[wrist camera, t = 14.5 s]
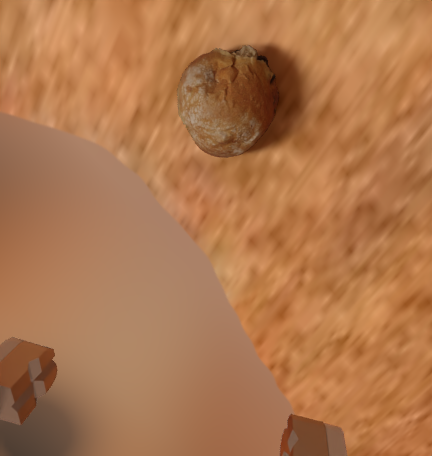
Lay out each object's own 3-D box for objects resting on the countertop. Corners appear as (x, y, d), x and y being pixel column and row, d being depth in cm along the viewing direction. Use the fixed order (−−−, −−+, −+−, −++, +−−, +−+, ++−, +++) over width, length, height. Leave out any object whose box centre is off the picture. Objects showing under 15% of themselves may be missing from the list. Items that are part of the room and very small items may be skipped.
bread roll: (187, 80, 35) (141, 103, 30) (249, 12, 28) (202, 28, 23) (236, 151, 38) (201, 183, 33) (306, 106, 30) (275, 139, 25)
